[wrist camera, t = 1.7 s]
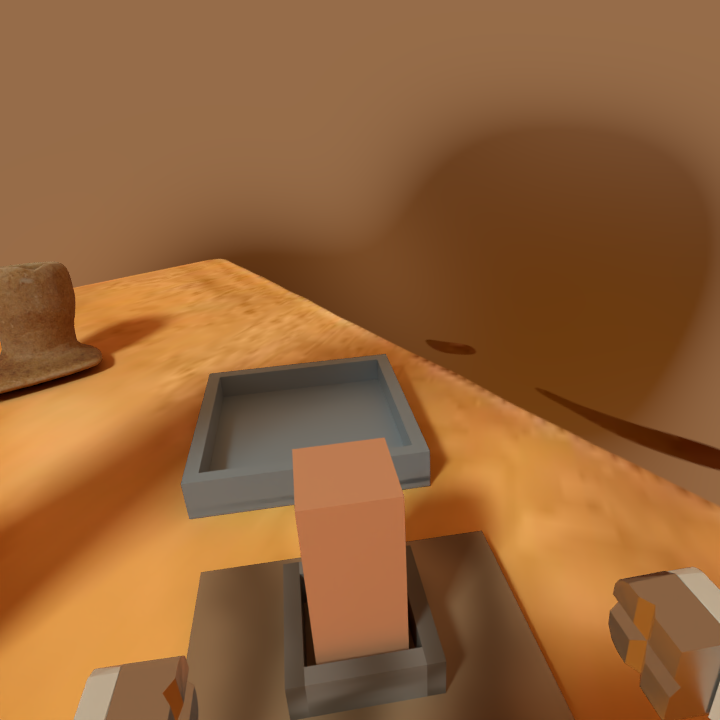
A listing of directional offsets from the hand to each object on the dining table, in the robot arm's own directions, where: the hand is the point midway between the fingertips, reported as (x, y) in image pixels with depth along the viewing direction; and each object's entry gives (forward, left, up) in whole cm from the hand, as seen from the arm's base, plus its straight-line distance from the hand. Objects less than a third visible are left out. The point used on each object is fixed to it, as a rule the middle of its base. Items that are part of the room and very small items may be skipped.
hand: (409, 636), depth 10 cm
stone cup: (-36, +62, -20) cm, 75 cm away
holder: (0, +15, -20) cm, 25 cm away
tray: (-2, +39, -20) cm, 44 cm away
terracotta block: (0, +15, -19) cm, 24 cm away
